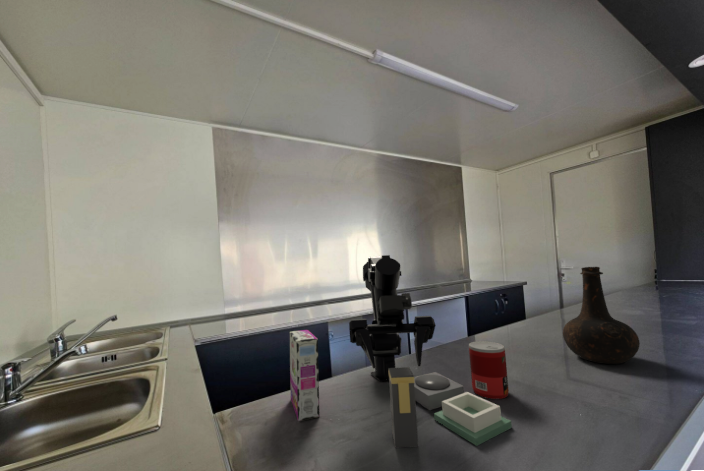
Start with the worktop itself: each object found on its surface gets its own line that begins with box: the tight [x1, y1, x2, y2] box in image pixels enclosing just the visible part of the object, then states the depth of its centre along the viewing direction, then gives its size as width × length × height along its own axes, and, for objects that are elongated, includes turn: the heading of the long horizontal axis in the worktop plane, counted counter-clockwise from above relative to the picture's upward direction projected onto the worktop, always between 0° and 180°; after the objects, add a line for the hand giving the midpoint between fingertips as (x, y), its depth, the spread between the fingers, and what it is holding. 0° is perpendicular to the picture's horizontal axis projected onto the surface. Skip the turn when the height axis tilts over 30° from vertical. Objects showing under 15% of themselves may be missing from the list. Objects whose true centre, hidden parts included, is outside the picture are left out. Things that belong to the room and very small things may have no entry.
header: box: [433, 391, 513, 447], centre depth 57 cm, size 10×10×4 cm
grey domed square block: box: [414, 371, 465, 411], centre depth 69 cm, size 10×10×3 cm
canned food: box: [468, 340, 509, 400], centre depth 70 cm, size 8×8×11 cm
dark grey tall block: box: [388, 366, 419, 449], centre depth 52 cm, size 5×4×12 cm
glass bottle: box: [562, 266, 640, 365], centre depth 88 cm, size 18×18×28 cm
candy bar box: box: [289, 329, 321, 422], centre depth 66 cm, size 11×5×16 cm, turn 21°
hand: (396, 366), depth 58 cm, fingers open, 9 cm apart
